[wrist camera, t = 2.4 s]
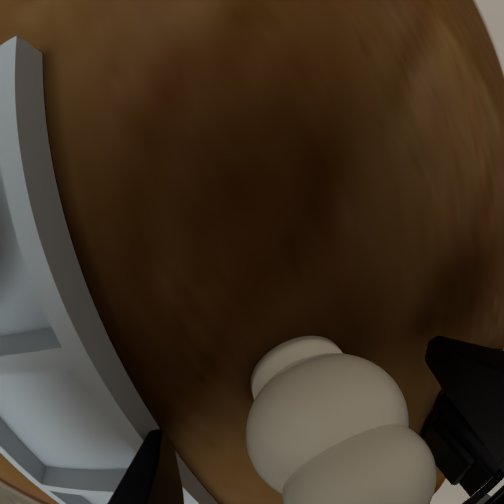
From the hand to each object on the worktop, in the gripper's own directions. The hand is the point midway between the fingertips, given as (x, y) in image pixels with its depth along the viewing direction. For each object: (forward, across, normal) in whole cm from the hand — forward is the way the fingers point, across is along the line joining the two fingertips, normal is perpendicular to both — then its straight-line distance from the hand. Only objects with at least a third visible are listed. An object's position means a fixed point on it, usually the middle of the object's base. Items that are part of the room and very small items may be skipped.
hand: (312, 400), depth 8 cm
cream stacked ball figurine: (+1, 0, 0) cm, 1 cm away
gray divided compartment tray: (+1, +9, 0) cm, 9 cm away
